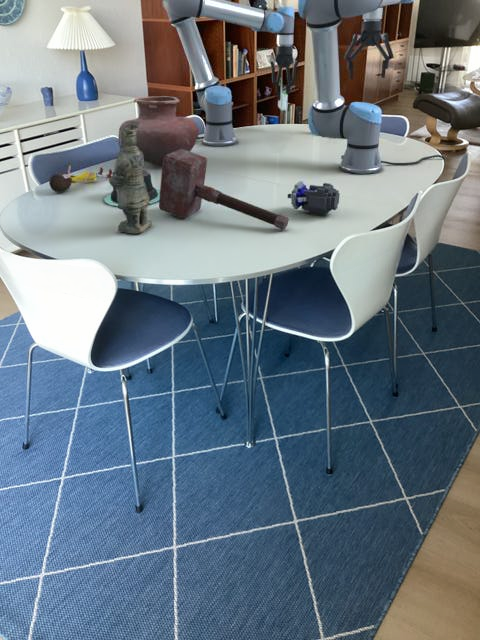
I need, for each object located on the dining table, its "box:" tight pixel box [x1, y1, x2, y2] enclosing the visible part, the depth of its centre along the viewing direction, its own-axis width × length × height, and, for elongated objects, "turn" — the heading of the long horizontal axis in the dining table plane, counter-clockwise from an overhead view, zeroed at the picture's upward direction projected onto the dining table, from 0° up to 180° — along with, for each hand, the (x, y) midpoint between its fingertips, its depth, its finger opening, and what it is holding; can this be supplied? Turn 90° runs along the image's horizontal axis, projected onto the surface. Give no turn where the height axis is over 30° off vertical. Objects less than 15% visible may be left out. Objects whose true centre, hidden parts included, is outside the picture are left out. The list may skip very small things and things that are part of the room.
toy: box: [287, 180, 341, 216], centre depth 168 cm, size 9×9×15 cm
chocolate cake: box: [103, 168, 160, 207], centre depth 186 cm, size 15×19×20 cm
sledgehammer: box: [158, 149, 290, 231], centre depth 163 cm, size 17×10×40 cm
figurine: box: [48, 164, 113, 193], centre depth 199 cm, size 13×8×25 cm
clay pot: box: [118, 95, 200, 166], centre depth 218 cm, size 30×30×25 cm
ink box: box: [277, 77, 289, 112], centre depth 263 cm, size 3×10×14 cm, turn 4°
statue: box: [108, 121, 153, 235], centre depth 154 cm, size 11×9×30 cm
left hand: (282, 99), depth 265 cm, fingers closed on ink box, 3 cm apart
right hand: (366, 78), depth 231 cm, fingers open, 13 cm apart
